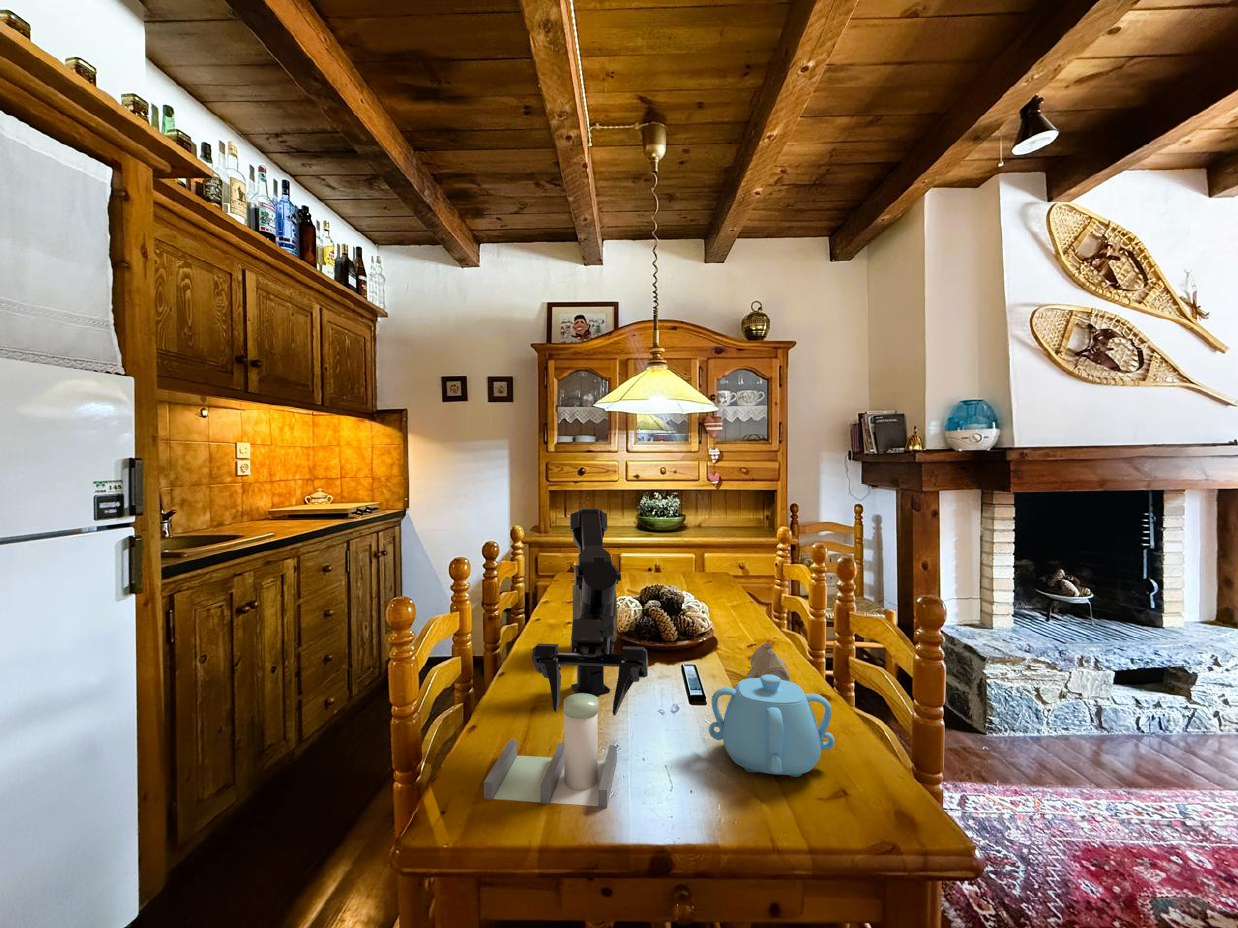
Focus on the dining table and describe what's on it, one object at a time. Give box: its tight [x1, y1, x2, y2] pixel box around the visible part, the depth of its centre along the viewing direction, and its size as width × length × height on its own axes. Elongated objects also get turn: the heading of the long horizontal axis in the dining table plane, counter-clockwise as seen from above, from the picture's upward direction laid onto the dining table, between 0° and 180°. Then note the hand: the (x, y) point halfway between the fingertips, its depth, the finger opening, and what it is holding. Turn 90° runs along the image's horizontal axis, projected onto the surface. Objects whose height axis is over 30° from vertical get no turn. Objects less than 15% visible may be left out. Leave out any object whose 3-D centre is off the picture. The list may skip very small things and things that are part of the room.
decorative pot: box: [708, 675, 836, 778], centre depth 91 cm, size 20×20×14 cm
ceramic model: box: [745, 642, 791, 682], centre depth 119 cm, size 14×11×10 cm
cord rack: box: [483, 739, 618, 809], centre depth 83 cm, size 12×18×4 cm
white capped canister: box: [563, 693, 599, 790], centre depth 83 cm, size 5×5×12 cm
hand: (584, 712), depth 85 cm, fingers open, 9 cm apart
